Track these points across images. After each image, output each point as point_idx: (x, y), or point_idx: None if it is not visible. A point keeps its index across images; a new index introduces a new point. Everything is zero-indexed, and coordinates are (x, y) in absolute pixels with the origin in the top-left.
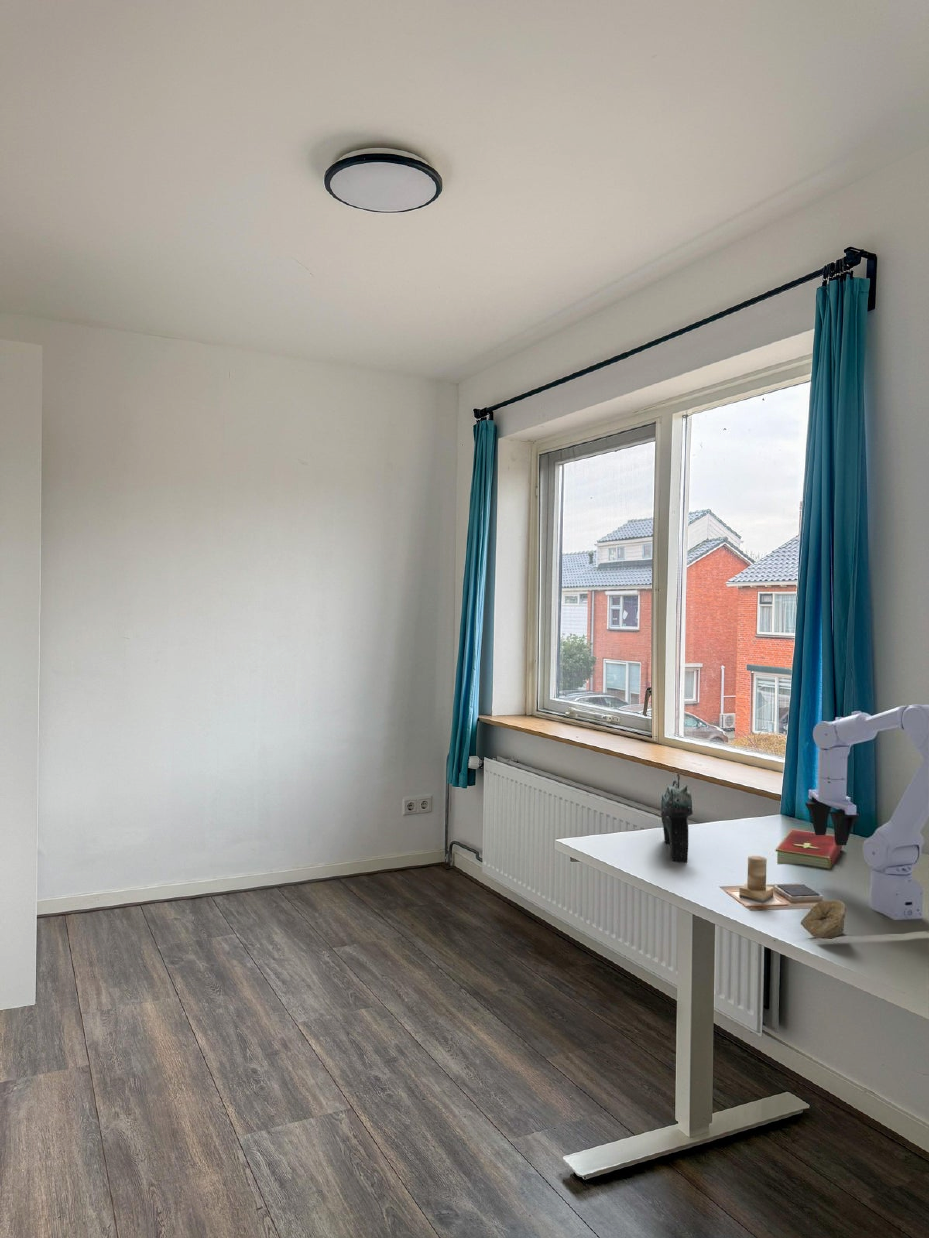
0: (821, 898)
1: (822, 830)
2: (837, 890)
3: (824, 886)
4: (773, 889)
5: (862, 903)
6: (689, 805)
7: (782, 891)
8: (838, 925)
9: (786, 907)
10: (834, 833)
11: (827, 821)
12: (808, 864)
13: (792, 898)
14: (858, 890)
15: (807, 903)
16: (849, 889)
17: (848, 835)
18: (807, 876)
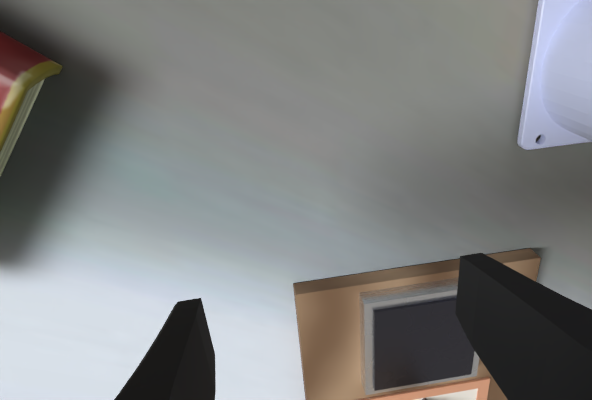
0: None
1: (204, 346)
2: (327, 145)
3: (275, 178)
4: (354, 380)
5: (482, 113)
6: None
7: (422, 384)
8: None
9: None
10: (505, 392)
11: (178, 373)
12: (1, 159)
13: (475, 369)
14: (332, 45)
15: None
16: (317, 83)
17: (544, 292)
18: (139, 197)
